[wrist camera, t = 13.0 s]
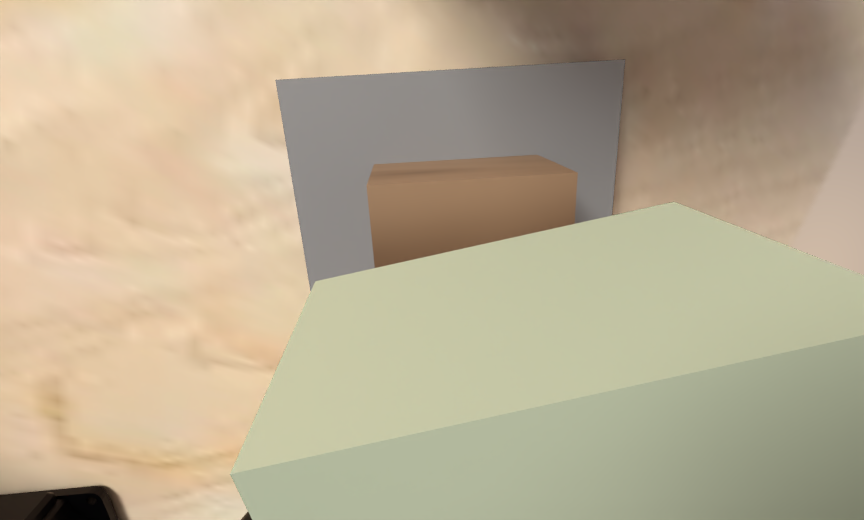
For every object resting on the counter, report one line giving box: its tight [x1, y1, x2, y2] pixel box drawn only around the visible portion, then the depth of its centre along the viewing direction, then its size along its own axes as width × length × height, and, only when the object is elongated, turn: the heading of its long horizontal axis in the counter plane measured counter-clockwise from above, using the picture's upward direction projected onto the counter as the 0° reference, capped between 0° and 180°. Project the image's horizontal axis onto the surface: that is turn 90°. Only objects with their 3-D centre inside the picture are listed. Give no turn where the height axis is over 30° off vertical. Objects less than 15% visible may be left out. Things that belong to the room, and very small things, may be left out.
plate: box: [276, 59, 625, 290], centre depth 18 cm, size 12×12×2 cm
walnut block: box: [367, 155, 578, 268], centre depth 16 cm, size 6×6×4 cm
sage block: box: [230, 202, 864, 520], centre depth 7 cm, size 6×6×4 cm
